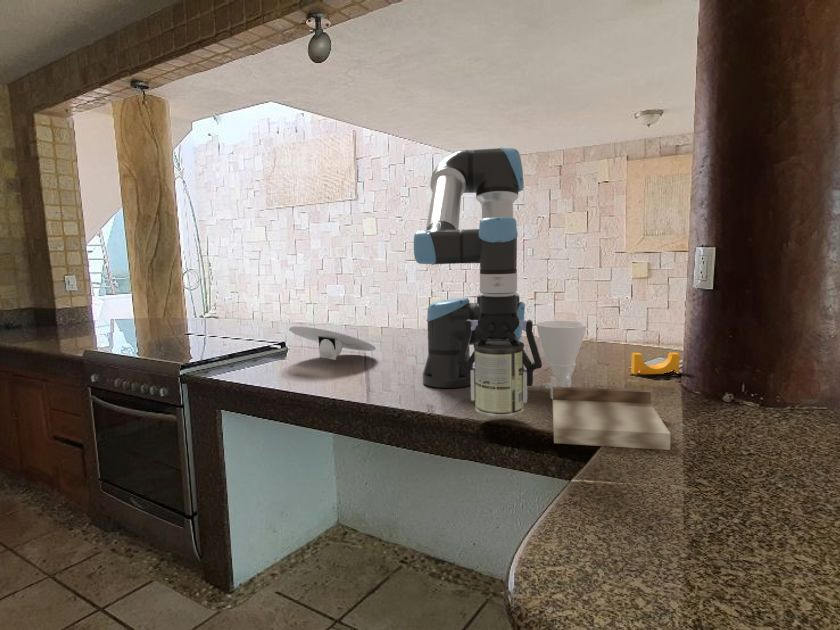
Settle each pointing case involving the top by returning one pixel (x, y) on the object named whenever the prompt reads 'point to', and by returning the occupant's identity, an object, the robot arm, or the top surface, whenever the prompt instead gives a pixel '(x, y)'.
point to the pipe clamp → (659, 368)
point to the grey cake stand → (331, 341)
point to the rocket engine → (561, 349)
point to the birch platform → (607, 418)
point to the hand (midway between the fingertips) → (499, 399)
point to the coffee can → (499, 378)
